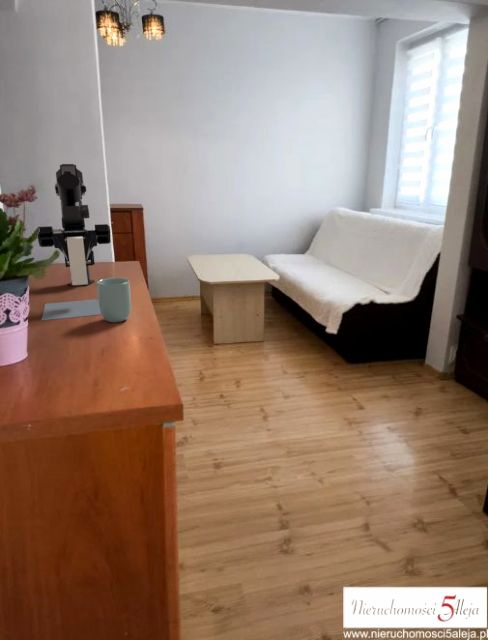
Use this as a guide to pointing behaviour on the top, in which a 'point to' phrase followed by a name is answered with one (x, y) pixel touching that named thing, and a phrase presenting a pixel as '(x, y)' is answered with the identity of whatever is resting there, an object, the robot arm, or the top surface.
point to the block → (77, 260)
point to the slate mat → (71, 309)
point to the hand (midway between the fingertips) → (77, 260)
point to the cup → (114, 299)
